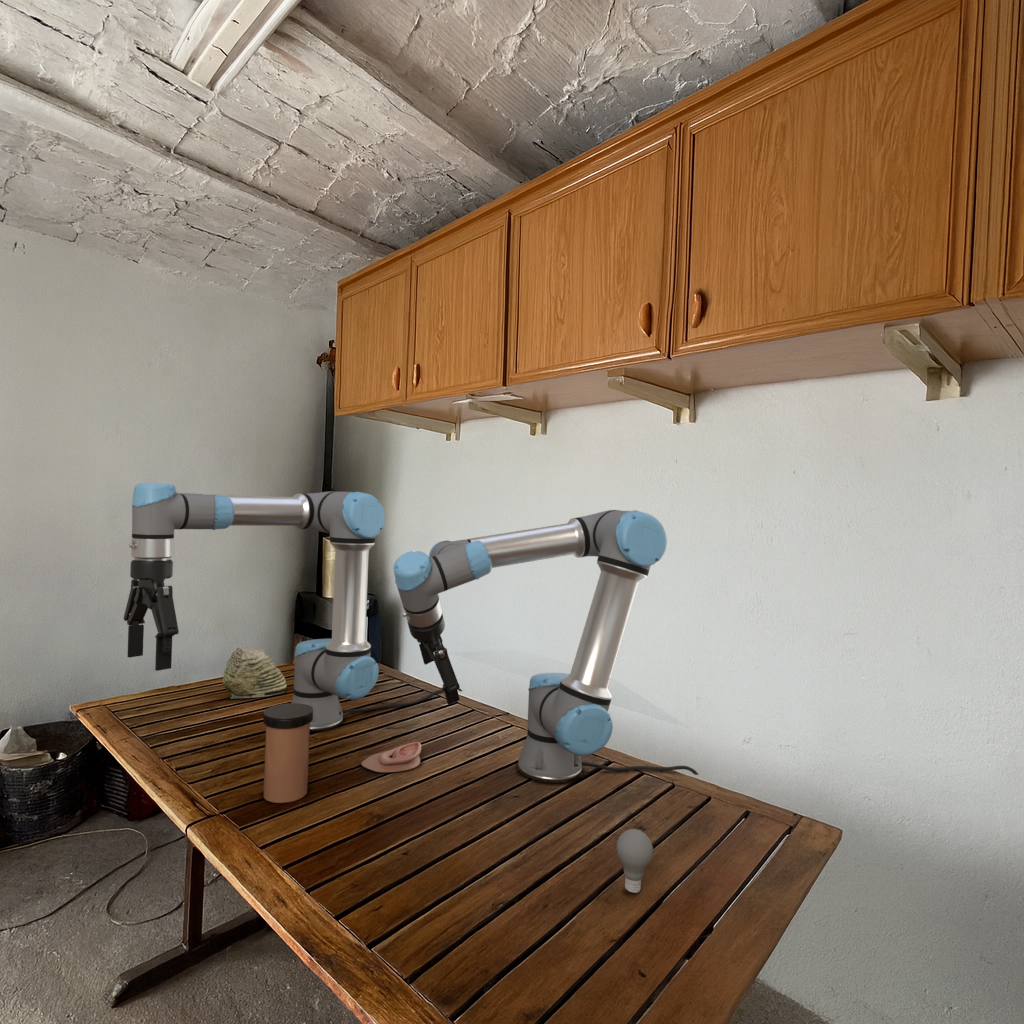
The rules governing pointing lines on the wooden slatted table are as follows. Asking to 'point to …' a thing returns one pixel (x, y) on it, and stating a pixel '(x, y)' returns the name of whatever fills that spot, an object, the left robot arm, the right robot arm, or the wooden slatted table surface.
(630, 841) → the light bulb
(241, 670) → the fossil
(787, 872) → the wooden slatted table surface
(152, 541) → the left robot arm
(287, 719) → the lid
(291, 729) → the jar
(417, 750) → the anatomical model
